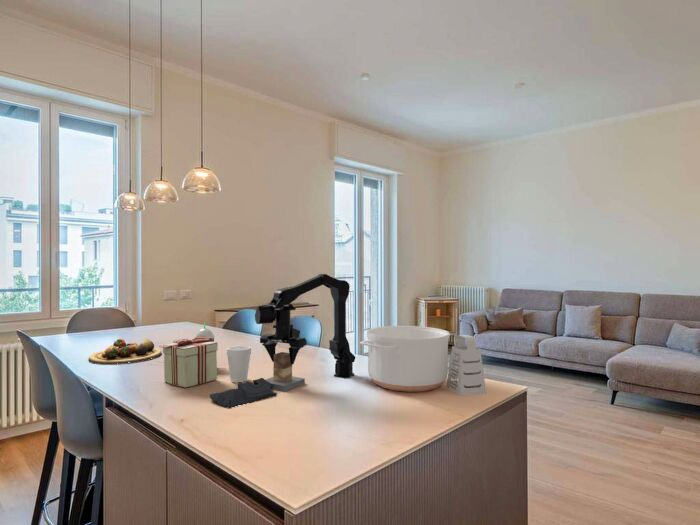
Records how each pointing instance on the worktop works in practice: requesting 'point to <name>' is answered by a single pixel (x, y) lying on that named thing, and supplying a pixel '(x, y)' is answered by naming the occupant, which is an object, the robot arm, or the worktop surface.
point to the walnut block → (282, 360)
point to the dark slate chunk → (244, 393)
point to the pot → (407, 357)
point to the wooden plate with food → (125, 353)
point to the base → (286, 383)
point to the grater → (466, 367)
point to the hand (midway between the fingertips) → (282, 362)
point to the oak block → (282, 374)
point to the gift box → (190, 361)
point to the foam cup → (238, 362)
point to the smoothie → (205, 333)
